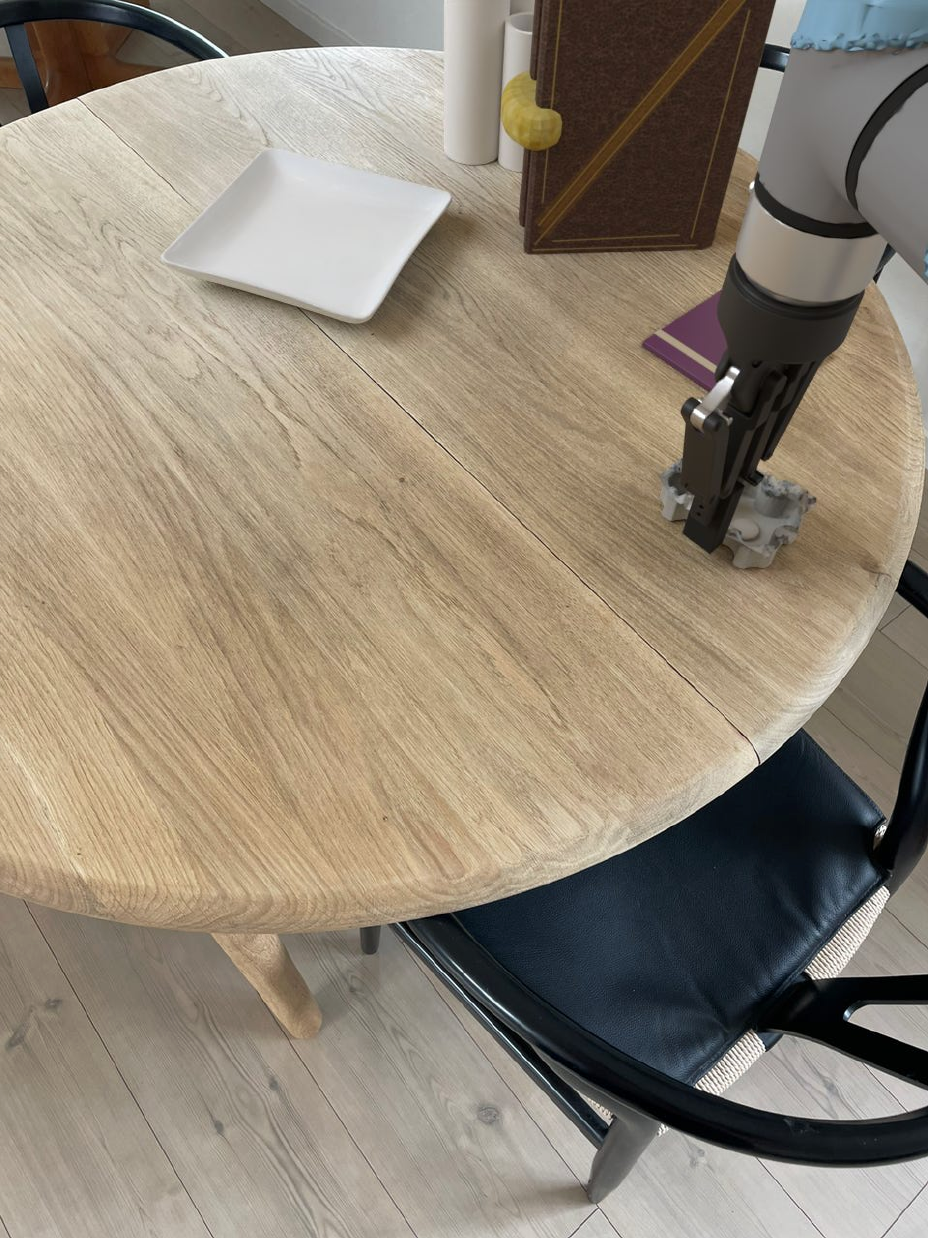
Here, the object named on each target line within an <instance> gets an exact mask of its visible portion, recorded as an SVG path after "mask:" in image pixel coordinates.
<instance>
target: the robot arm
mask: <svg viewBox="0 0 928 1238" xmlns="http://www.w3.org/2000/svg"><path fill="white" fill-rule="evenodd" d="M789 45H790V50H789V53H788V57H787V61H786V65H785V68H784V72H783V75H782V79H781V83H780V86H779V90H778V94H777V97H776V100H775V104H774V107H773V111H772V115H771V118H770V122H769V125H768V130H767V131H766V136H765V139H764V144H763V146H762V150H761V154H760V158H759V161H758V164H757V170H756V173H755V177H754V179H753V180H751V182H750V183H749V185H748V187H747V188H748V189H747V193H748V195H749V198H748V202H747V205H746V208H745V213H744V215H743V219H742V222H741V226H740V228H739V229H740V230H739V232H738V236H737V240H736V243H735V247H734V248H735V252H734V253H733V254H732V256H731V258H730V260H729V264H728V268H727V270H726V274H725V277H724V281H723V284H722V288H721V290H720V291H721V294H720V297H719V301H718V305H717V317H718V321H719V324H720V326H721V329H722V331H723V333H724V336H725V339H726V342H727V349H726V350H725V352H724V353H723V356H722V359H721V360H720V362H719V364H718V366H717V368H716V370H715V375H714V379H715V382H716V385H715V387H714V388H713V389H712V390H711V391H710V392H709V393H708V394H707V395H706V396H705V397H703V396H700V397H699V398H698V399H697V398H695V397H694V396H690V397H689V398H687V399H686V400H685V402H684V403H683V404H682V406H681V407H680V416H681V417H682V419H683V421H684V423H685V424H684V425H685V426H684V436H683V449H682V456H681V458H682V468H681V479H680V486H682V487H683V488H684V489H686V490H687V491H688V492H690V493H691V494H692V495H694V499H693V502H692V505H691V508H690V511H689V514H688V517H687V520H686V519H685V520H686V521H685V523H684V526H683V529H682V532H681V533H682V534H683V535H684V536H685V537H687V538H688V539H689V540H690V541H691V542H693V543H694V544H695V545H697V546H698V547H699V548H701V549H702V550H704V551H705V552H706V553H708V555H712V553H714V552H715V551H716V550H717V549H719V548H720V547H722V545H723V544H722V543H723V541H724V538H725V536H726V533H727V530H728V528H729V525H730V523H731V520H732V518H733V515H734V513H735V510H736V507H737V505H738V502H739V500H740V497H741V495H742V492H743V489H744V487H745V485H744V484H743V483H744V480H745V481H746V482H748V483H749V484H751V485H752V486H753V487H756V486H757V485H758V484H759V483H760V482H761V481H762V480H763V478H764V476H765V475H763V474H762V473H761V472H762V471H761V472H759V471H758V470H759V469H758V466H759V464H760V461H762V462H764V463H765V462H768V460H770V459H771V458H772V457H773V456H774V452H775V450H776V448H777V447H778V445H779V444H780V441H781V439H782V438H783V435H784V434H785V431H786V430H787V428H788V426H789V425H790V423H791V421H792V419H793V417H794V415H795V413H796V412H797V409H798V407H799V406H800V404H801V402H802V400H803V399H804V397H805V395H806V392H807V391H808V389H809V387H810V385H811V383H812V381H813V379H814V377H815V375H816V374H817V372H818V370H819V368H820V366H821V365H822V364H823V362H824V360H826V358H827V357H828V356H830V355H833V354H834V352H836V351H837V350H838V349H839V348H840V347H841V346H842V344H843V343H844V342H845V340H846V338H847V336H848V333H849V331H850V328H851V327H852V324H853V322H854V319H855V318H856V315H857V313H858V311H859V308H860V305H861V303H862V301H863V298H864V296H865V292H866V291H865V290H866V289H867V288H868V286H869V285H870V283H871V282H872V281H873V279H874V277H875V274H876V272H877V269H878V267H879V265H880V262H881V260H882V257H883V255H884V253H885V251H886V247H887V245H889V246H890V247H891V248H892V249H893V250H894V251H895V252H896V254H898V255H899V256H900V257H901V259H902V260H903V261H905V263H906V264H907V265H908V266H909V268H911V270H913V271H914V272H915V273H916V274H917V275H918V277H919V278H920V279H921V280H922V281H923V282H924V283H925V285H927V286H928V0H806V3H805V5H804V8H803V10H802V14H801V16H800V19H799V22H798V25H797V27H796V30H795V31H794V32H793V33H792V35H791V37H790V42H789ZM825 357H826V358H825ZM756 469H758V470H756Z"/></svg>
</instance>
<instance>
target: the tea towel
mask: <svg viewBox="0 0 928 1238" xmlns="http://www.w3.org/2000/svg"><path fill="white" fill-rule="evenodd" d="M720 294H721V290H719V291H718V292H716V293H715V294H713V295H711V296H709V298H706V299H705V300H704V301H702V302H701V303H699V304H698V305H696V306H695V307H693V308H691V309H690V310H689V311H687V312H686V313H684V314H683V315H681V316H679V317H678V318H676V319H675V320H673V321H672V322H670V323H669V324H667V325H665V326H664V327H663V328H659V329H658V330H656V331H655V332H654V333H653V334H651V335H650V336H649V337H647V338H646V339H644V340H643V341H642V343H641V348H643V349H645V350H646V351H648V352H649V353H650V354H652V355H654V356H655V357H657V358H658V359H660V360H661V361H663V362H664V363H665V364H667V365H669V366H670V367H672V368H673V369H674V370H676V371H678V373H680V374H682V375H683V376H684V377H686V378H687V379H690V380H691V382H693V383H695V384H696V385H698V386H700V387H701V388H703V389H704V390H706V391H707V392H709V393H710V391H711V390H712V389H713V388H714V387H715V385H716V382H715V379H714V375H715V370H716V368H717V366H718V364H719V362H720V360H721V359H722V356H723V353H724V352H725V350H726V349H727V342H726V339H725V336H724V333H723V331H722V329H721V326H720V324H719V321H718V317H717V305H718V301H719V297H720ZM826 358H827V357H825V359H826Z"/></svg>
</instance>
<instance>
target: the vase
mask: <svg viewBox="0 0 928 1238" xmlns="http://www.w3.org/2000/svg"><path fill="white" fill-rule="evenodd" d="M534 4H535V0H443V151H444V154H445V155H446V156H447V157H448V158H449V159H450V160H452V161H454V162H456V163H457V164H462V165H468V166H480V165H486V164H489V163H492V162H494V161H496V160H497V163H499V165H500V166H501V167H502V168H504V169H505V170H507V171H510V172H515V173H522V166H523V153H524V147H522V146H521V145H519V144H518V143H516V142H515V141H514V140H512V139H511V138H510V137H509V136H508V134H507V133H506V132H505V129H504V127H503V124H502V120H501V100H502V94H503V92H504V89H505V87H506V85H507V83H508V82H509V81H510V80H511V79H513V78H514V77H515V76H517V75H518V74H520V73H523V72H525V71H530V58H531V44H532V31H533V17H534Z"/></svg>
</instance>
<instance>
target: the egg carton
mask: <svg viewBox="0 0 928 1238" xmlns="http://www.w3.org/2000/svg"><path fill="white" fill-rule="evenodd" d="M681 468H682V457H681V458H679V459H678V460H677V461H676V462H674V463H672V464H671V465H670V466H669V467H668V468H667V470H665V471H663V472H661V473H660V474H659V475H658V478H659V481H660V482H661V483H662V487H661V489H660V494H659V497H658V498H659V500H660V501H661V502H662V506H663V508H662V511H661V516H662V517H663V518H665V519H666V520H667V521H670V522H674V521H677V520H678V521H679V520H682V521H683V520H687V517H688V514H689V511H690V508H691V505H692V502H693V499H694V495H692V494H691V493H690V492H688V491H687V490H686V489H684V488H683V487H682V486H680V479H681ZM756 470H758V471H759V472H761V473H762V474H763V475H765V476H764V478H763V480H762V481H761V482H760V483H759V484H758V485H757V486H756V487H753V486H752V485H751V484H749V483H748V482H746V481H745V480H744V483H743V484H744V485H745V487H744V489H743V492H742V495H741V497H740V500H739V502H738V505H737V507H736V510H735V513H734V515H733V518H732V520H731V523H730V525H729V528H728V530H727V533H726V536H725V538H724V541H723V543H722V545H724V546H727V547H728V548H729V549H730V550H731V551H732V553H733V555H734V557H733V559H732V564H733V566H735V567H736V568H739V569H741V570H744V569H747V568H760V569H766V568H767V567H769V566H771V565H772V562H773V560H774V558H775V557H776V555H777V552H778V550H779V548H780V547H782V546H783V545H786V546H789V545H791V544H792V543H794V542H795V540H796V539H797V536H798V535H799V532H800V530H801V528H802V525H803V523H804V521H805V520H804V517H806V515H808V514H809V513H810V512H811V511H812V509H813V508H815V506H817V497H816V496H815V495H812V494H810V493H809V490H807V489H805V488H803V487H800V486H799V485H797V483H795V482H792V481H789V480H787V479H783V480H782V481H779V480H778V479H776V478H775V477H774V476H773V475H772V474H771V473H770V472H768V471H766V472H763V471H761V470H759V469H758V468H757V469H756Z"/></svg>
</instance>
